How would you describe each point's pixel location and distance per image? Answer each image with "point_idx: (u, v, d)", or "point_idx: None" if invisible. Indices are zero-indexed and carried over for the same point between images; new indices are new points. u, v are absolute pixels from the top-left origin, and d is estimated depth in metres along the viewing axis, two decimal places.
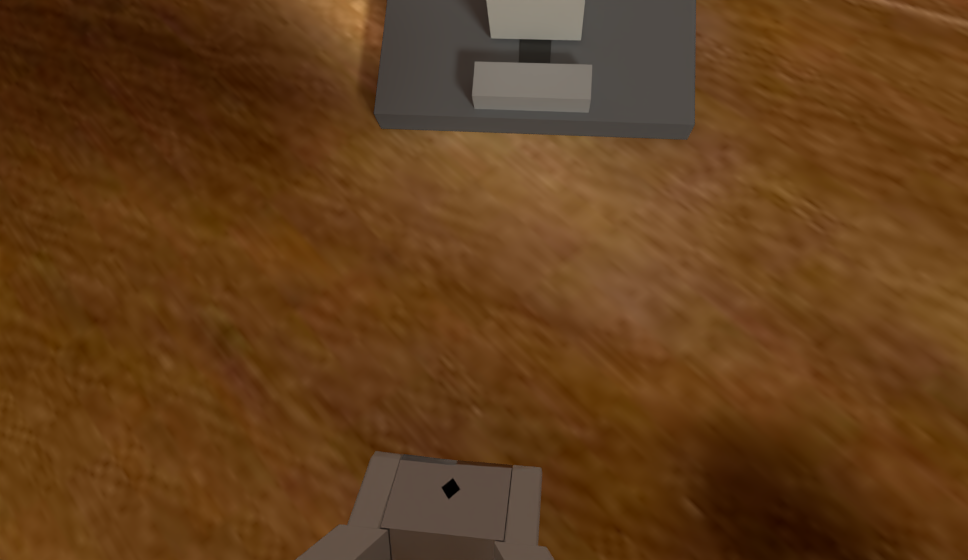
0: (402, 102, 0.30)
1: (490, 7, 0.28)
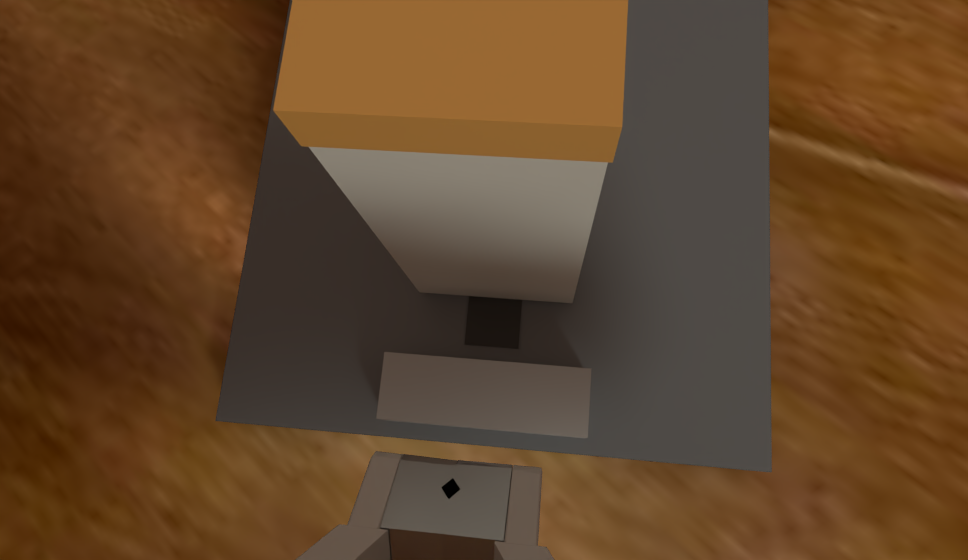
0: (265, 401, 0.18)
1: (408, 271, 0.16)
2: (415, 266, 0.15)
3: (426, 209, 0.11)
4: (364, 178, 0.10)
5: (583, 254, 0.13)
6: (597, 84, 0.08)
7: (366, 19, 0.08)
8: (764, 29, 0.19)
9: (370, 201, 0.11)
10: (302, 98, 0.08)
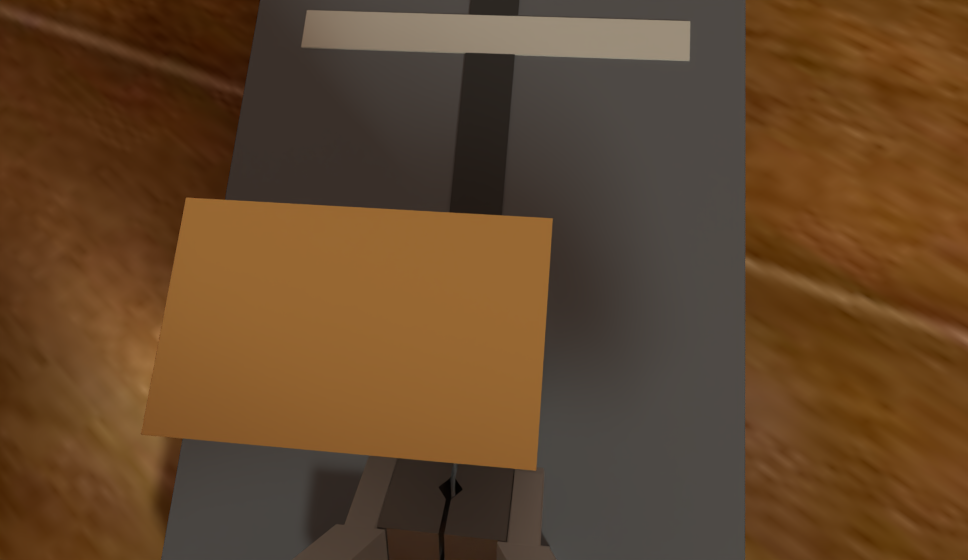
0: None
1: None
2: None
3: None
4: None
5: None
6: (511, 407, 0.07)
7: (250, 321, 0.07)
8: (741, 160, 0.18)
9: None
10: (175, 419, 0.07)
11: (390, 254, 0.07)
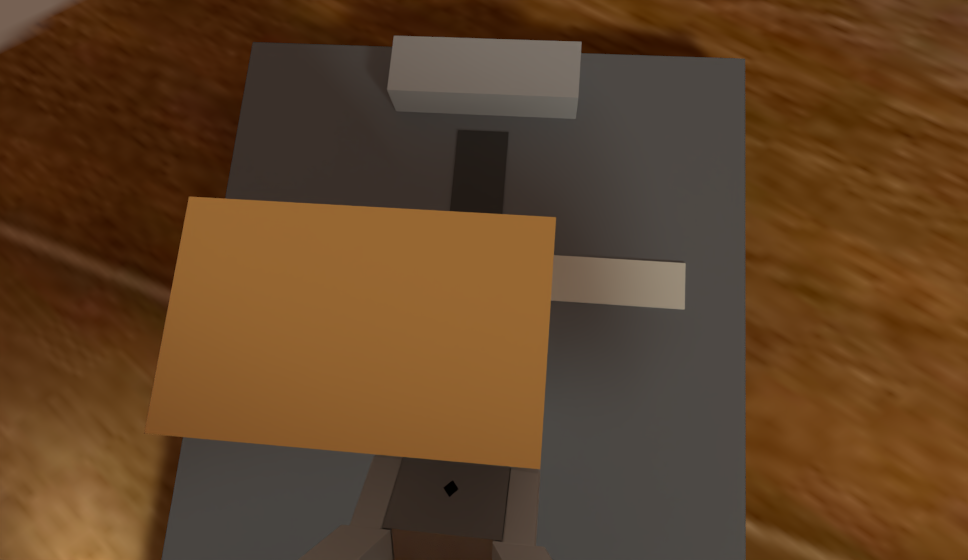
0: None
1: None
2: None
3: None
4: None
5: None
6: (514, 406, 0.07)
7: (253, 319, 0.07)
8: (741, 430, 0.16)
9: None
10: (178, 417, 0.07)
11: (394, 253, 0.07)
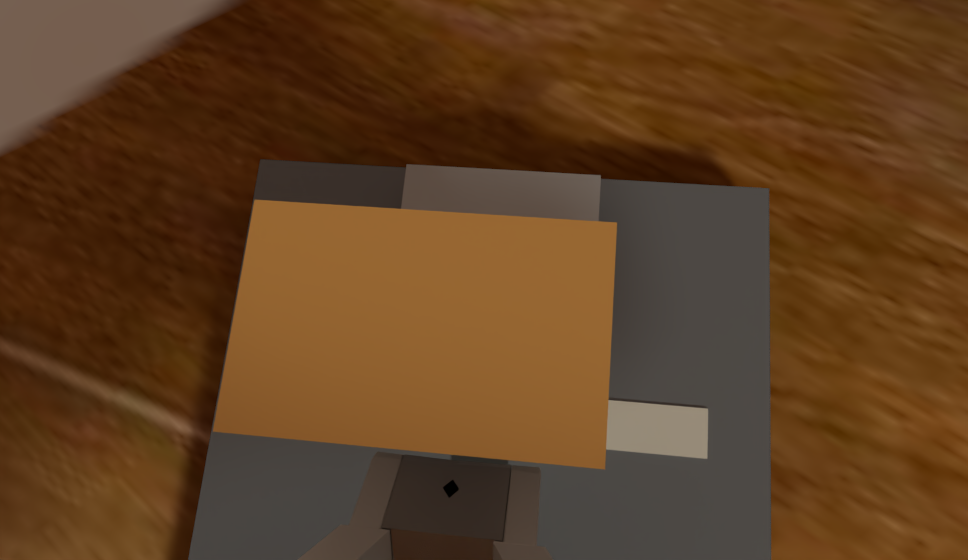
0: None
1: None
2: None
3: None
4: None
5: None
6: (578, 408, 0.07)
7: (319, 320, 0.07)
8: None
9: None
10: (246, 417, 0.07)
11: (457, 256, 0.07)
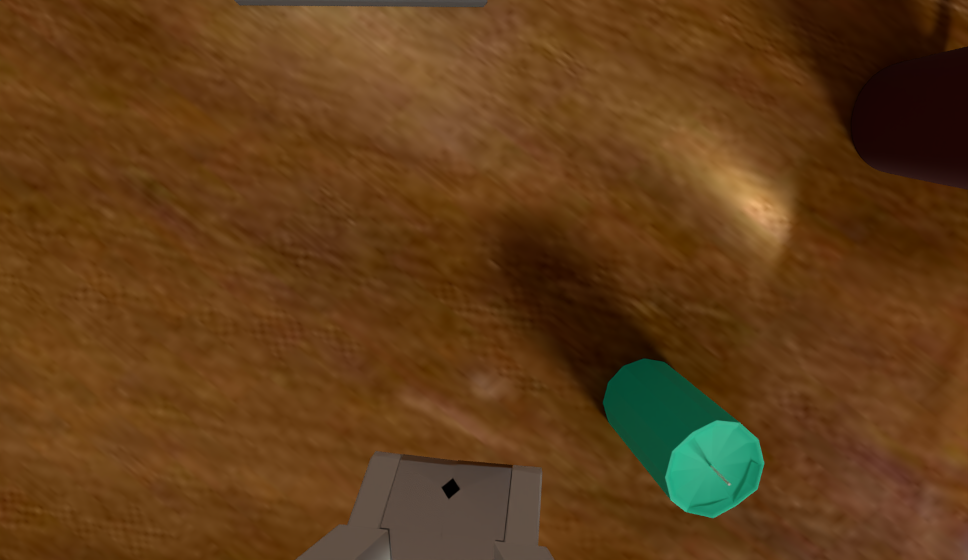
0: None
1: None
2: None
3: None
4: None
5: None
6: None
7: None
8: None
9: None
10: None
11: None
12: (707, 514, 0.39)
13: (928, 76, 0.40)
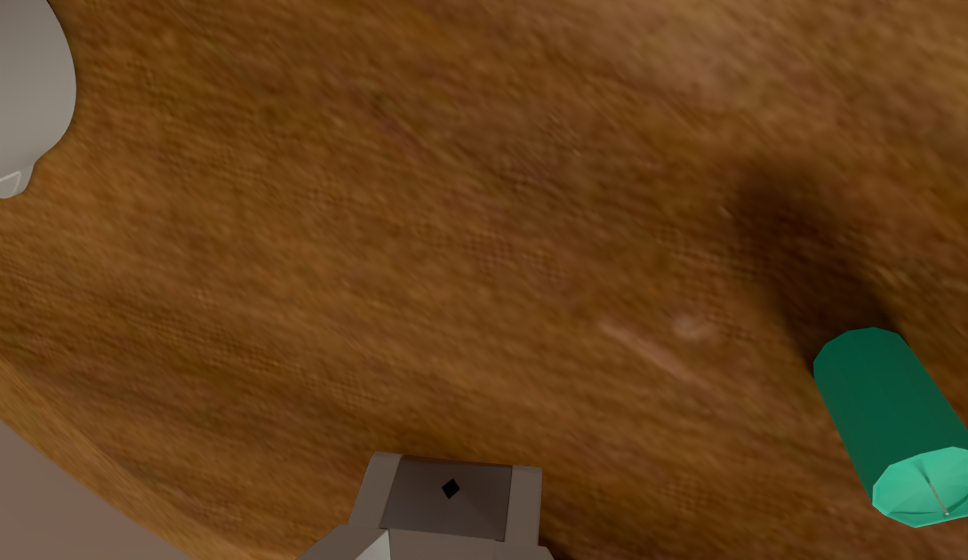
0: None
1: None
2: None
3: None
4: None
5: None
6: None
7: None
8: None
9: None
10: None
11: None
12: (909, 523, 0.37)
13: None
